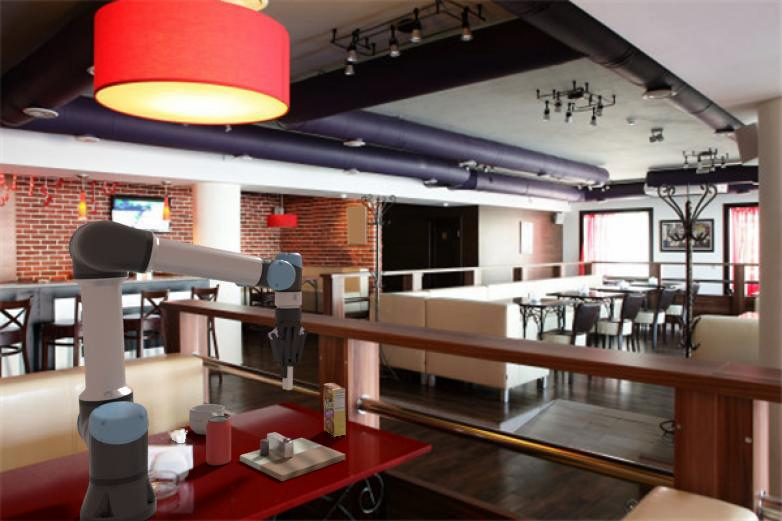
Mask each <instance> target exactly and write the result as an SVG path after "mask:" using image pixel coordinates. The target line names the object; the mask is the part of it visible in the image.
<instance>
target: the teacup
mask: <svg viewBox="0 0 782 521" xmlns="http://www.w3.org/2000/svg"><path fill="white" fill-rule="evenodd" d="M188 410H189V414H188V417H189V418H188V421H189V422H188V423H189V428H190V429H191V430H192V431H193V432H194V433H195V434H197V435H206V426H207V423H208V419H209V418H211V417H214V416H225V406H224V405H221V404H216V403H213V404H212V403H207V404H206V403H205V404H197V405H193V406H191V407H189V409H188Z"/></svg>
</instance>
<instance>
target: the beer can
mask: <svg viewBox="0 0 782 521" xmlns="http://www.w3.org/2000/svg"><path fill="white" fill-rule="evenodd" d="M205 439H206V440H205V441H206V442H205V446H206V447H205V449H206V450H205V451H206V453H205V458H206V460H205V461H206V463H207V464H208V465H209V466H224V465H225V464H229V463H230V461H231V460H232V423H231V421H230V416H227V415H224V416H214V417H211V418H209V419H208V423H207V426H206V434H205Z"/></svg>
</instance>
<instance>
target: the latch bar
mask: <svg viewBox="0 0 782 521" xmlns="http://www.w3.org/2000/svg"><path fill="white" fill-rule="evenodd" d="M266 439H268V440H269V449H270V450H272V451H274V452H275V453H277V454H279V455H281V456H282V457H284V458H289V457H291V456H294V441H292V438H290V437H286V436H284V435H282V434H280V433H278V432H275V431H274V432H269V433H267V434H266Z"/></svg>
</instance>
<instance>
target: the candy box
mask: <svg viewBox="0 0 782 521" xmlns="http://www.w3.org/2000/svg"><path fill="white" fill-rule="evenodd" d="M323 429H324V431H325V430H326V431H327V432H328V434H329V433H330V434H331V435H333V436H334V437H336V436H341V435H347V434H346V429H347V427H346V388H344V387H342V386H341V385H339V384H337V383H335V382H331V383H330V382H329V383H324V384H323ZM326 431H325V432H326ZM327 432H326V433H327ZM330 434H329V435H330ZM331 435H330V436H331ZM333 436H332V437H333ZM334 437H333V438H334Z"/></svg>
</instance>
